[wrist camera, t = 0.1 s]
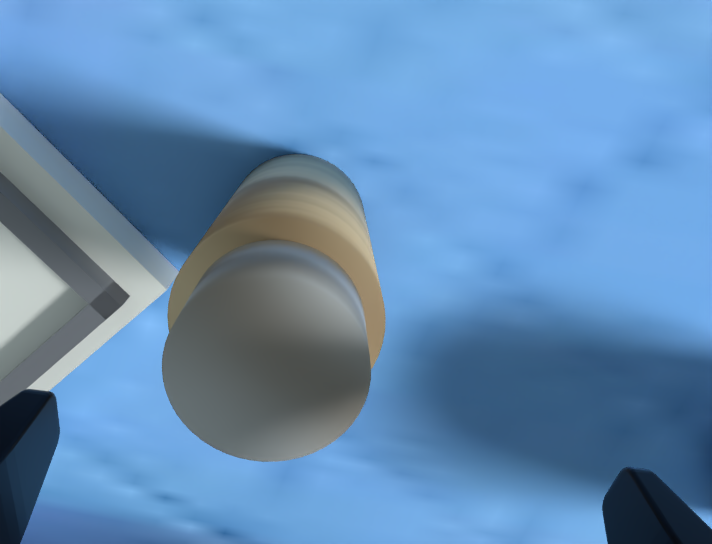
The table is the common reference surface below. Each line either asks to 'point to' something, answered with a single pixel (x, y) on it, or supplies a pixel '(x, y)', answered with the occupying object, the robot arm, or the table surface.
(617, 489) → the robot arm
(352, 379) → the pepper mill
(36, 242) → the stand
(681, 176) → the table surface
